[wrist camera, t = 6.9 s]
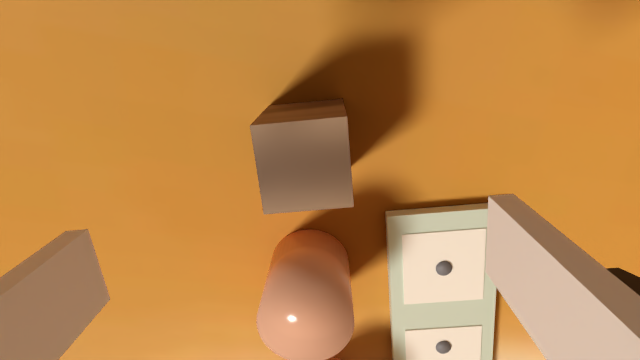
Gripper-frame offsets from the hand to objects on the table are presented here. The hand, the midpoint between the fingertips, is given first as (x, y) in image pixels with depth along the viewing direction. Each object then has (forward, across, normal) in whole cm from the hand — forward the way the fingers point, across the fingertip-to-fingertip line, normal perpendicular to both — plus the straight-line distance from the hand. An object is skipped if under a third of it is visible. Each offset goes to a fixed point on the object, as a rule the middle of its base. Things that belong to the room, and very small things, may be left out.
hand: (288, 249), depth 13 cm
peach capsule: (+15, -1, -10) cm, 18 cm away
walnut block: (+15, 0, 0) cm, 16 cm away
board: (+15, +9, -19) cm, 26 cm away
